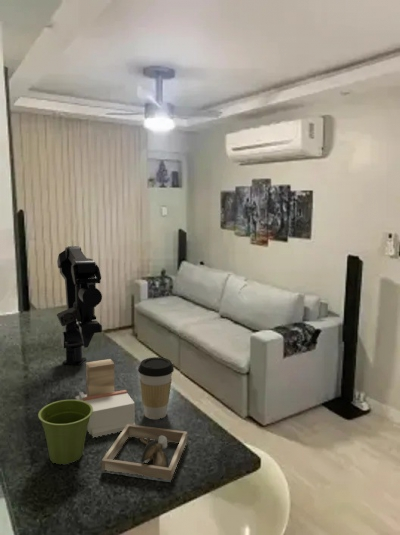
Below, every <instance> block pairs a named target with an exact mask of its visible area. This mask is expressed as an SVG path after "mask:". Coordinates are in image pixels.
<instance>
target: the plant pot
mask: <svg viewBox="0 0 400 535" xmlns="http://www.w3.org/2000/svg"><path fill="white" fill-rule="evenodd" d="M92 412H93V407H92V406H91V405H90V404H89V403H87V402H85V401H81V400H76V399H61V400H57V401H53V402H51V403H49V404H46V405H44V406H43V407H42V408H41V409H40V410H39V411H38V414H37V416H38V419H39V420H40V422H41V425H42V428H43V431H44V436H45V439H46V445H47V451H48V455H49V459H50V462H51V461H52V462H51V463H53V464H54V463H56V464H55V465H61V464H67V463H71V462H73V461H76V460H78V459H79V458H80V459H81V457H83V454H84V453H83V452H84V448H85V442H86V435H87V432H88V430H87V425H88V423H89V419H90V416H91V414H92ZM80 459H79V460H80ZM79 460H78V461H79ZM76 462H77V461H76Z"/></svg>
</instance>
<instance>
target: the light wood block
mask: <svg viewBox="0 0 400 535" xmlns="http://www.w3.org/2000/svg"><path fill="white" fill-rule="evenodd" d="M85 365H86V366H85V371H86V372H85V374H86V376H85V378H86V394H87V397H89V396H94V395H100V394H105V393H111V392H114V391H115V363H114V361H113V360H112V359H111V358H108V359H101V360H93V361H87V362H85Z"/></svg>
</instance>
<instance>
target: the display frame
mask: <svg viewBox="0 0 400 535" xmlns="http://www.w3.org/2000/svg"><path fill="white" fill-rule="evenodd" d="M161 435H162V436H165V437H166V438H167V441H170V442H179V444H178V445H177V447H176V449H175V451H174V453H173V456H172V459H171V461H170V464H168V468H167V467H160V466H153V464H144V463H141V462H140V463H137V462H132V461H127V460H126V461H124V460H119V459H114V457H115V456H116V454H117V453H118V451H119V450H120V448H121V447H122V446H123V444H124V443H125V441H126V440H127V439H128V440H129V438H130V437H129V436H133V437H139V436H140V437H141V438H147V439H148V437H149V438H150V439H156V437H157V440H158V438H159V436H161ZM128 437H129V438H128ZM147 439H146V440H147ZM128 440H127V441H128ZM127 441H126V442H127ZM186 443H187V444H188V431H184V430H183V431H182V430H178V429H177V430H176V429H170V428H169V429H167V428H162V427H161V428H160V427H152V426H147V425H146V426H145V425H138V424H135V425H131V424H127V425H126V426H125V428H124V429H123V431H122V432H120V434H119V435H118V436H117V438H116V439H115V441H114V442H113V444H112V445H111V446H110V448H109V449H108V450H107V452H106V453H105V455H104V456H103V458H102V459H101V471H102V470H107V471H114V472H122V473H129V474H138V475H142V476H143V475H144V476H150V477H155V478H162V479H167V480H171V479H172V476H173V474H174V472H175V469H176V467H177V464H178V462H179V460H180V457H181V455H182V452H183V450H184V451H185V449H186V447H185V445H186V446H187V444H186ZM125 444H126V443H125ZM125 444H124V445H125ZM123 447H124V446H123ZM123 447H122V448H123ZM184 448H185V449H184ZM120 451H121V450H120ZM183 453H184V452H183ZM118 454H119V453H118ZM182 456H183V455H182ZM116 457H117V456H116ZM181 458H182V457H181ZM113 459H114V460H113ZM180 461H181V460H180ZM179 463H180V462H179ZM177 468H178V467H177ZM175 473H176V472H175Z"/></svg>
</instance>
